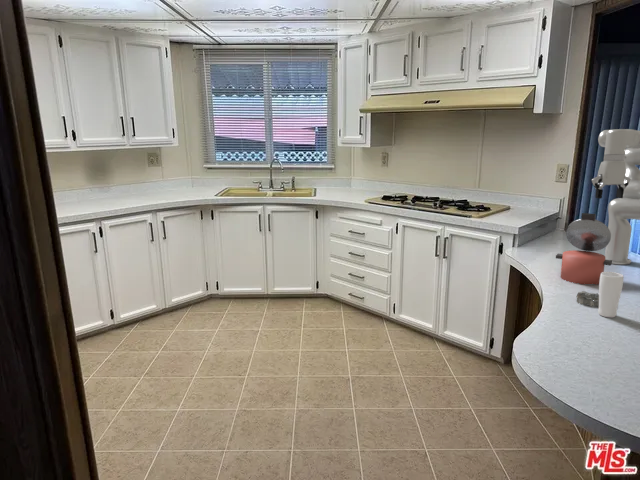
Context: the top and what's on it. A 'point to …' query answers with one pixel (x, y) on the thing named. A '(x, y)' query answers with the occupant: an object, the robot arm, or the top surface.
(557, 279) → the top surface
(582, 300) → the egg carton
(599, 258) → the cooker pot
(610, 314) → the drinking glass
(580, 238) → the cooker lid
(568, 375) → the top surface
